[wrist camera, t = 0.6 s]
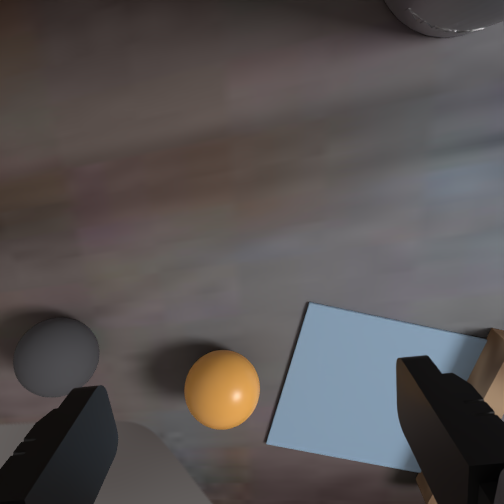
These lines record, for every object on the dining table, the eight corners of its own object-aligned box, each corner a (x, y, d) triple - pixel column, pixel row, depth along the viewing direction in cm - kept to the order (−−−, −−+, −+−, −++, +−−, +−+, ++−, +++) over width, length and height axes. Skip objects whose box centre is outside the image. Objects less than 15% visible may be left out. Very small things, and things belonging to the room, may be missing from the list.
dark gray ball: (41, 297, 29) (-6, 337, 24) (113, 312, 30) (82, 355, 25) (38, 357, 31) (-5, 406, 26) (107, 370, 32) (77, 421, 26)
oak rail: (491, 328, 30) (511, 346, 27) (516, 333, 30) (538, 352, 27) (415, 479, 35) (426, 505, 33) (436, 482, 35) (449, 509, 33)
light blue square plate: (309, 301, 29) (309, 303, 29) (486, 339, 30) (487, 340, 30) (266, 442, 34) (266, 444, 34) (419, 471, 35) (420, 472, 34)
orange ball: (197, 329, 30) (184, 374, 25) (266, 343, 30) (268, 391, 25) (186, 386, 32) (171, 439, 27) (251, 398, 32) (249, 454, 27)
